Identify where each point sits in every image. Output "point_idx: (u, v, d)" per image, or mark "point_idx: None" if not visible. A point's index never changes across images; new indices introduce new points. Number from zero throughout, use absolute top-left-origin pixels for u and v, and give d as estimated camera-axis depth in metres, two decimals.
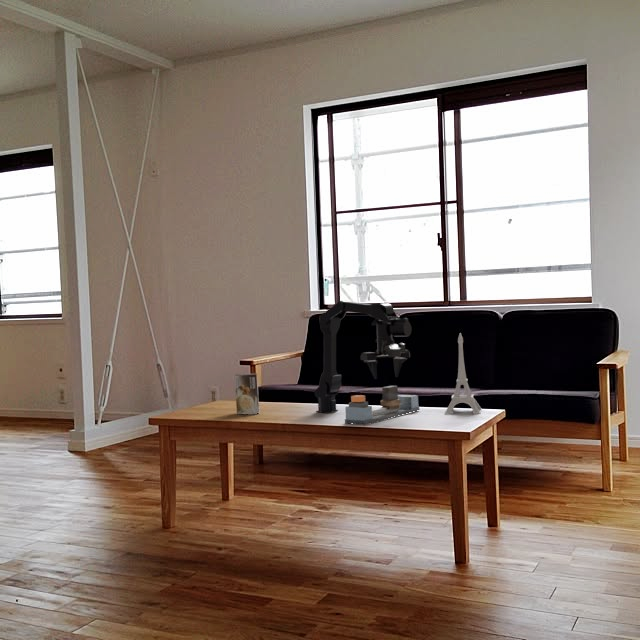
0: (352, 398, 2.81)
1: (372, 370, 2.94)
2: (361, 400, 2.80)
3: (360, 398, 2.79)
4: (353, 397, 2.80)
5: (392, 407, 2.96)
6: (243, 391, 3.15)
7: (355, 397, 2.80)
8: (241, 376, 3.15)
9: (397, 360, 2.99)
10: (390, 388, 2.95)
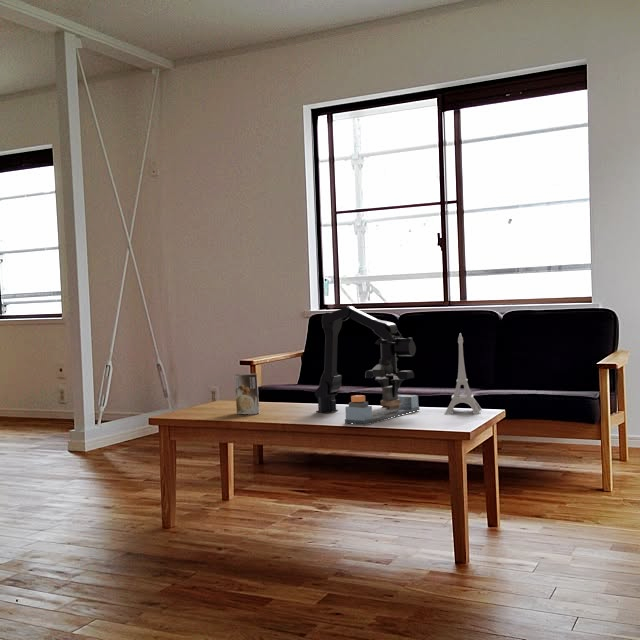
0: (352, 398, 2.81)
1: None
2: (361, 400, 2.80)
3: (360, 398, 2.79)
4: (353, 397, 2.80)
5: (392, 407, 2.96)
6: (243, 391, 3.15)
7: (355, 397, 2.80)
8: (241, 376, 3.15)
9: None
10: (390, 388, 2.95)
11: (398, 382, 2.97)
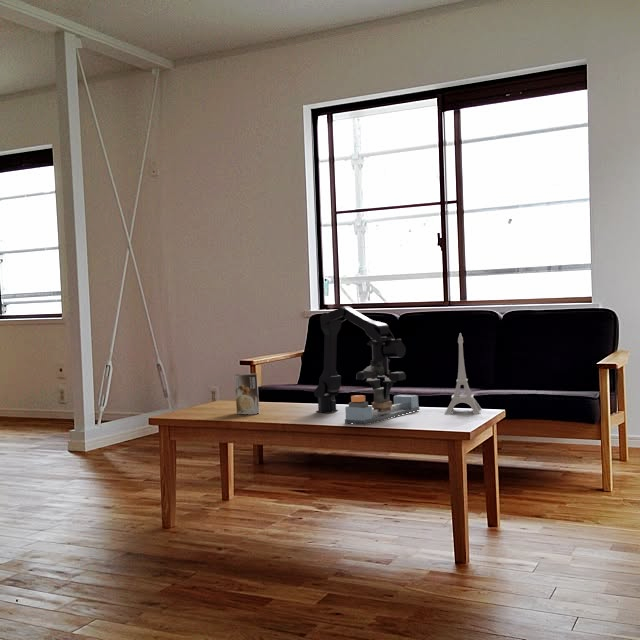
0: (352, 398, 2.81)
1: None
2: (361, 400, 2.80)
3: (360, 398, 2.79)
4: (353, 397, 2.80)
5: (383, 409, 2.91)
6: (243, 391, 3.15)
7: (355, 397, 2.80)
8: (241, 376, 3.15)
9: None
10: (381, 390, 2.91)
11: (390, 384, 2.92)
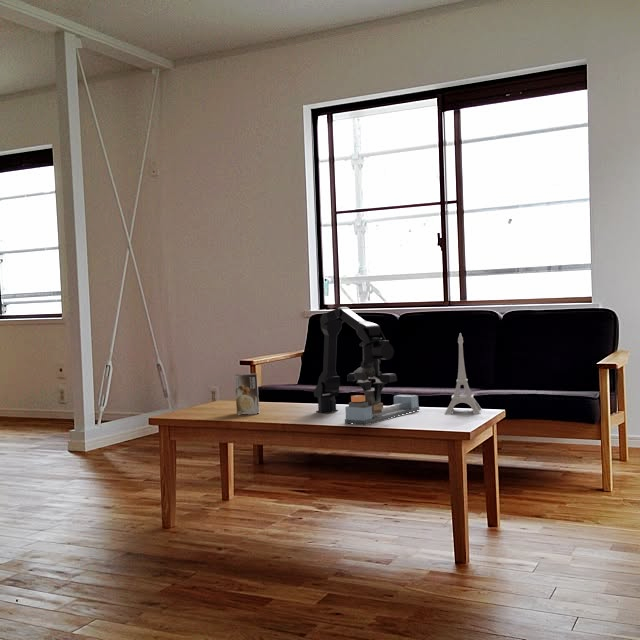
0: (352, 398, 2.81)
1: None
2: (361, 400, 2.80)
3: (360, 398, 2.79)
4: (353, 397, 2.80)
5: (374, 411, 2.86)
6: (243, 391, 3.15)
7: (355, 397, 2.80)
8: (241, 376, 3.15)
9: None
10: (372, 392, 2.86)
11: (381, 385, 2.87)
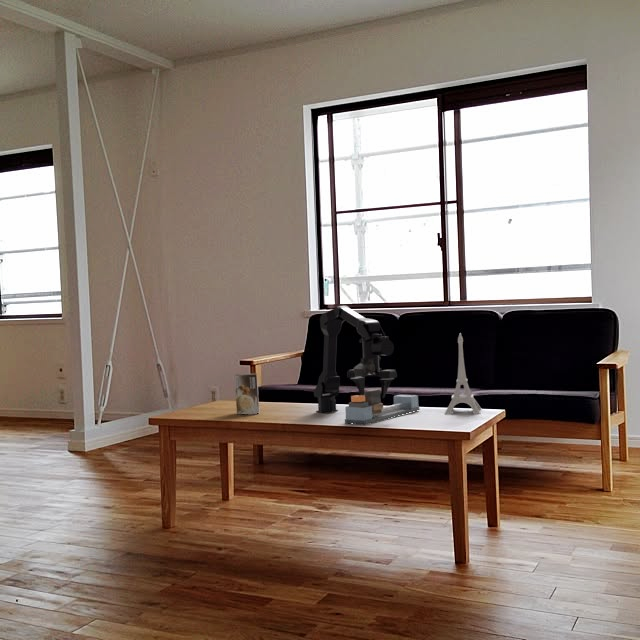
0: (352, 398, 2.81)
1: None
2: (361, 400, 2.80)
3: (360, 398, 2.79)
4: (353, 397, 2.80)
5: (374, 411, 2.86)
6: (243, 391, 3.15)
7: (355, 397, 2.80)
8: (241, 376, 3.15)
9: None
10: (372, 392, 2.86)
11: (387, 382, 2.85)
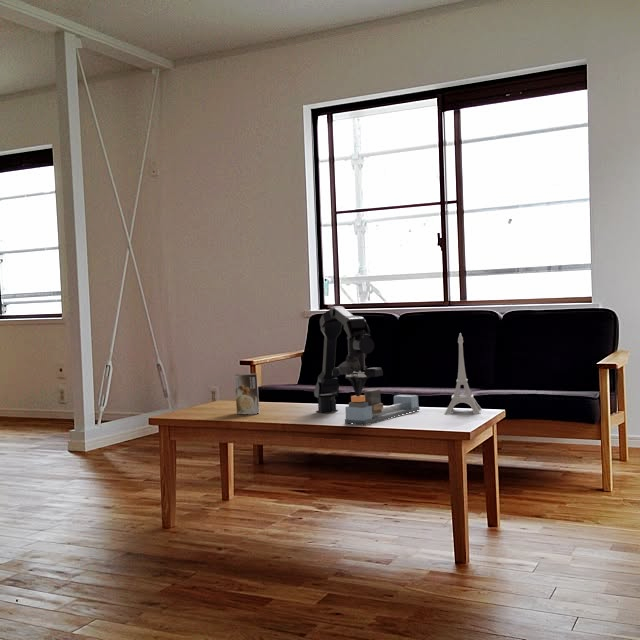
0: (352, 398, 2.81)
1: None
2: (361, 400, 2.80)
3: (360, 398, 2.79)
4: (353, 397, 2.80)
5: (374, 411, 2.86)
6: (243, 391, 3.15)
7: (355, 397, 2.80)
8: (241, 376, 3.15)
9: None
10: (372, 392, 2.86)
11: (363, 380, 2.81)
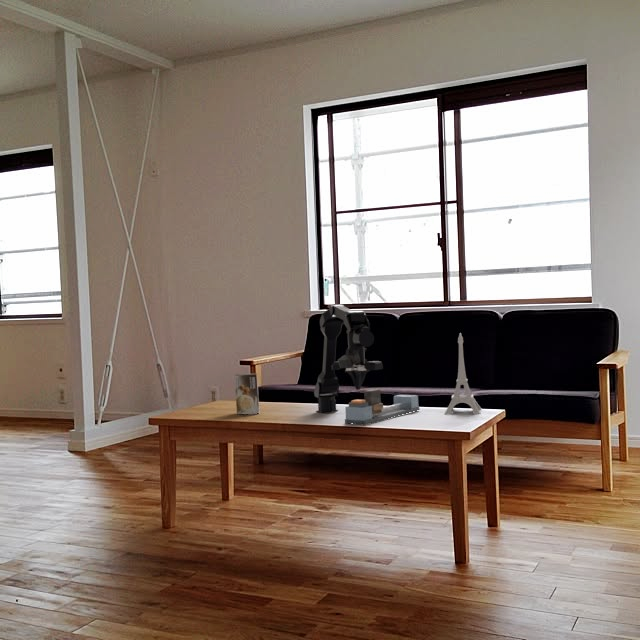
0: (352, 402, 2.81)
1: None
2: None
3: (360, 402, 2.79)
4: (353, 401, 2.80)
5: (374, 411, 2.86)
6: (243, 391, 3.15)
7: (355, 401, 2.80)
8: (241, 376, 3.15)
9: None
10: (372, 392, 2.86)
11: (363, 374, 2.81)
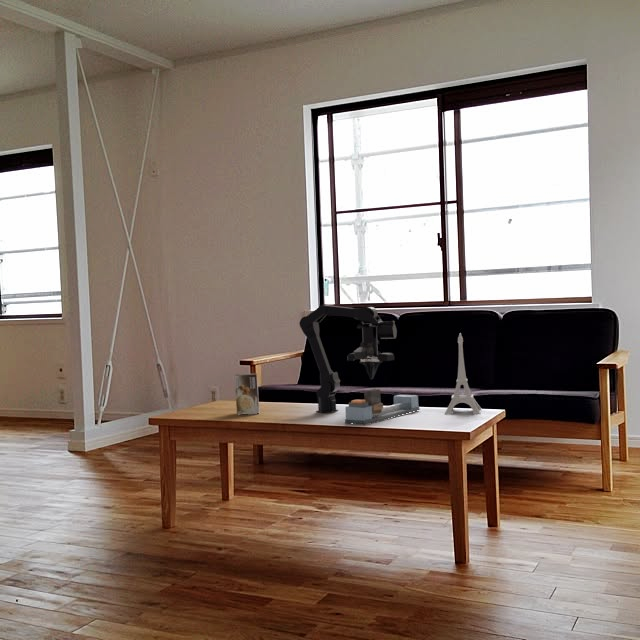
0: (352, 402, 2.81)
1: None
2: None
3: (360, 402, 2.79)
4: (353, 401, 2.80)
5: (374, 411, 2.86)
6: (243, 391, 3.15)
7: (355, 401, 2.80)
8: (241, 376, 3.15)
9: None
10: (372, 392, 2.86)
11: (376, 364, 3.07)
